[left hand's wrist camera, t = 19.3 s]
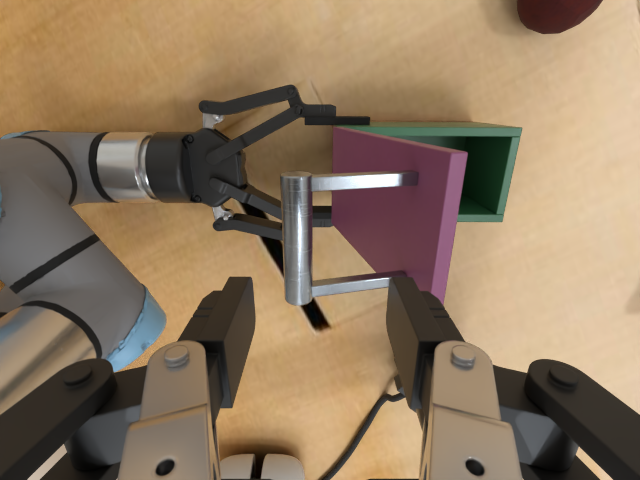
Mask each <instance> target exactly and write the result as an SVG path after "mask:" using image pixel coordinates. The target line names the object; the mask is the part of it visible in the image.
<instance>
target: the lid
mask: <svg viewBox="0 0 640 480" xmlns="http://www.w3.org/2000/svg"><path fill="white" fill-rule="evenodd" d="M467 155H468V153H467V152H465V151H460V150H455V149H450V148H445V147H440V146H435V145H430V144H425V143H420V142H415V141H410V140H405V139H400V138H395V137H390V136H385V135H380V134H375V133H370V132H365V131H360V130H354V129H349V128H344V127H333V166H332V174H314V175H312V174H311V173H309V172H306V171H287V172H284V173H281V175H280V180H281V207H282V233H283V260H284V286H285V300H286V301H287V302H288V303H289V304H292V305H305V304H307V303H309V302H310V301H311V300H312V298H313V297H318V296H326V295H333V294H341V293H348V292H356V291H363V290H371V289H378V288H386V287H389V280H390V278H391V277H412V278H413V279H414V281H415V283H416V285H417V286H418V288H419V290H420V291H429V292H430V293H432V294H433V295H434V296H436V297H437V298H438V299H439V300H440V301H441V303H442V305H443V303H444V297H445V291H446V285H447V279H448V273H449V266H450V260H451V254H452V248H453V242H454V235H455V229H456V223H457V217H458V211H459V204H460V198H461V192H462V186H463V180H464V174H465V167H466V161H467ZM330 190H332V219H331V223H332V224H333V225H334V226H335V227H336V229H337V230H338V231H339V232H340V233H341V234H342V235H343V236H344V237H345V238H346V240H347V241H348V242H349V243H350V244H351V245H352V246H353V247H354V248H355V250H356V251H357V252H358V253H359V254H360V255H361V256H362V257H363V258H364V259H365V261H366V262H367V263H368V264H369V265H370V266H371V267H372V268H373V269H374V271H375V272H376V273H373V274H365V275H356V276H348V277H340V278H331V279H323V280H315V281H313V265H312V191H330Z"/></svg>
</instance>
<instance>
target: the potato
mask: <svg viewBox="0 0 640 480" xmlns="http://www.w3.org/2000/svg"><path fill="white" fill-rule="evenodd" d="M602 1H603V0H517V9H518V14H519V17H520V20H521V22H522V23H523V24H524V25H525V26H526V27H527V28H528V29H531V30H533V31H536V32H539V33H542V34H554V33H561V32H563V31H566V30H568V29H570V28H572V27H574V26H576V25H578V24H580V23H581V22H582V21H584V20H585V19H586V18H587V17H588V16H590V15H591V14H592V13H593V12H594V11H595V10H596V9H597V8H598V6H599V5H600V3H601V2H602Z"/></svg>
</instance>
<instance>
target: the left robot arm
mask: <svg viewBox="0 0 640 480" xmlns="http://www.w3.org/2000/svg"><path fill="white" fill-rule="evenodd" d="M386 325H387V332H388V336H389V339H390V343H391V346H392V349H393V353H394V356H395V363H396V366H397V369H398V373H399V374H398V375H397V376H395V377H394V380H395V384H396V387H397V391H399V392H400V393H398V394H396V395H393V396H392V395H390V394H386V395H384V396H383V397H381V398H380V399H379V400H378V402H377V403H376V404H375V406H374V407H373V409H372V411H371V413H370V414H369V416H368V418H367V420H366V422H365V423H364V425H363V426H362V428H361V430H360V431H359V433H358V434H357V436H356V438H355V439H354V441H353V443H352V444H351V446H350V448H349V449H348V450H347V452H346V453H345V455H344V456H343V457H342V459H341V460H340V461H339V462H338V464H337V465H336V466H335V467H334V468H333V469H332V470H331V471H330V472H329V473H328V474H327V475H326V476H325V477H324V478H323V479H322V480H330V479H331V478H332V477H333V476H334V475H335V474H336V473H337V472H338V471H339V470H340V468H341V467H342V466H343V465H344V464H345V462H346V461H347V460H348V458H349V457H350V456H351V454H352V453H353V451H354V450H355V448H356V447H357V445H358V444H359V442H360V440H361V439H362V437H363V435H364V434H365V432H366V431H367V429H368V428H369V426H370V424H371V423H372V421H373V419H374V417H375V415H376V414H377V412H378V410H379V409H380V407H381V406H382V405H383V404H384V403H385V402H386V401H387V400H389V401H391V402H395V401H399V400H401V399H403V398H405V397H406V400H407V404H408V406H409V408H410V409H412V410H413V411H414V412H416V413H417V415H418V419H419V422H420V425H421V428H422V431H423V434H422V446H421V457H420V469H419V479H368V480H523V479H524V480H600V479H599V478H598V477H597V476H596V475H595V474H594V473H593V472H592V471H591V470H590V469H589V468H588V467H587V466H586V465H585V464H584V463H583V462H582V461H581V460H580V459H579V458H578V457H577V456H576V452H577V449H578V447H580V448H581V449H582V450H583V451H584V452H585V453H586V454H588V455H589V456H590V457H591V458H592V459H593V460H594V461H595V462H596V463H597V464H598V465H599V466H600V467H601V468H602V469H603V470H604V471H605V472H606V473H607V474H608V475H609V476H610V477H611V478H612V479H613V480H640V415H639V414H638V413H637V412H635V411H634V410H633V409H631V408H630V407H629V406H627V405H626V404H625V403H623V402H622V401H621V400H619V399H618V398H617V397H615V396H614V395H613V394H611V393H610V392H609V391H607V390H606V389H605V388H603V387H602V386H601V385H599V384H598V383H597V382H595V381H594V380H593V379H591V378H590V377H589V376H587V375H586V374H585V373H583V372H582V371H580V370H578V369H577V368H575V367H573V366H571V365H568V364H566V363H563V362H560V361H555V360H549V359H540V360H536V361H534V362H532V363H531V364H530V366H529V369H528V372H527V373H524V372H520V371H515V370H511V369H506V368H502V367H498V366H495V365H492V361H491V359H490V357H489V356H488V355H487V354H486V353H485V352H484V351H483V350H481V349H480V348H478V347H477V346H475V345H472V344H470V343H467V342H465V341H464V339H463V337H462V336H461V334H460V332H459V331H458V329H457V328H456V326H455V324H454V323H453V321H452V319H451V318H449V314H448V313H447V311H446V310H445V308H444V306H443V305H442V303H441V301H440V300H439V299H438V298H437V297H436V296H434V295H433V294H432V293H430V292H429V291H420V290H419V288H418V286H417V285H416V283H415V281H414V279H413V278H412V277H391V278H390V280H389V289H388V301H387V313H386ZM254 330H255V305H254V292H253V282H252V278H251V277H229V278H228V280H227V282H226V284H225V286H224V288H223V290H222V291H213V292H211V293H210V294H209V295H207V296H206V297H205V298H203V299H202V301H201V303H200V304H199V306H198V309H197V310H196V311H195V313H194V314H193V317H192V318H191V319H190V321H189V323H188V324H187V326H186V328H185V329H184V331H183V333H182V334H181V336H180V338H179V339H178V341H177V342H173V343H170V344H168V345H165V346H163V347H162V348H160V349H159V350H157V351H156V352H155V353H154V354H153V355H152V356H151V357H150V359H149V361H148V365H146V366H142V367H139V368H134V369H130V370H125V371H120V372H116V373H114V370H113V367H112V364H111V363H110V362H109V361H108V360H105V359H101V358H92V359H86V360H82V361H78V362H76V363H73V364H71V365H69V366H66V367H65V368H63V369H61V370H60V371H58V372H57V373H55V374H54V375H53V376H51V377H50V378H49V379H47V380H46V381H45V382H43V383H42V384H41V385H39V386H38V387H37V388H35V389H34V390H33V391H31V392H30V393H29V394H27V395H26V396H25V397H23V398H22V399H21V400H19V401H18V402H17V403H15V404H14V405H13V406H11V407H10V408H9V409H7V410H6V411H5V412H3V413H2V414H1V415H0V480H27V479H28V478H29V477H30V476H31V475H32V474H33V473H34V472H35V471H36V470H37V469H38V468H39V467H40V466H41V465H42V464H43V463H44V462H45V461H46V460H47V459H48V458H49V457H50V456H51V455H52V454H54V453H55V452H56V451H57V450H58V449H59V448H60V447H61V446H62V445H63V444H64V445H65V448H66V450H67V453H66V454H65V455H64V456H63V457H62V458H61V459H60V460H59V461H58V462H57V463H56V464H55V465H54V466H53V467H52V468H51V469H50V470H49V471H48V472H47V473H46V474H45V475H44V476H43V477H42V478H41V479H40V480H116V479H117V478H118V479H117V480H272V479H221V469H220V457H219V446H218V434H217V425H216V419H217V416H218V413H219V410H220V408H232V407H233V403H234V400H235V397H236V393H237V390H238V386H239V383H240V379H241V376H242V372H243V369H244V366H245V362H246V359H247V355H248V352H249V348H250V345H251V341H252V338H253V334H254ZM522 478H523V479H522Z"/></svg>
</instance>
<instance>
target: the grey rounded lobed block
mask: <svg viewBox="0 0 640 480" xmlns="http://www.w3.org/2000/svg"><path fill="white" fill-rule="evenodd" d="M220 469H221V479H256V463H255V454H239V455H232V456H229V457H226V458H224V459H223V460H221V461H220ZM261 479H272V480H305V475H304V469H303V466H302V464H301V462H300V461H299V460H298V459H297V458H295V457H293V456H289V455H283V454H267V455H266V456H265V459H264V463H263V468H262V474H261Z"/></svg>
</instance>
